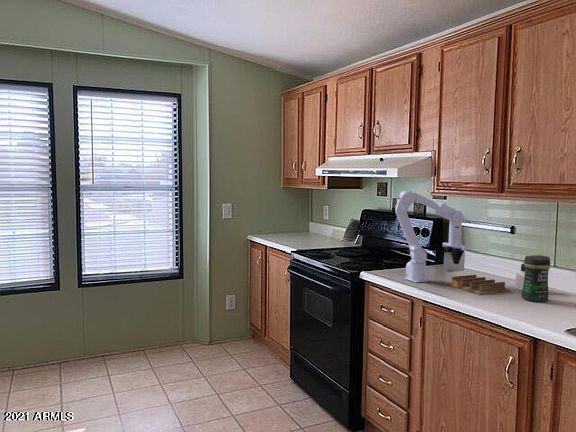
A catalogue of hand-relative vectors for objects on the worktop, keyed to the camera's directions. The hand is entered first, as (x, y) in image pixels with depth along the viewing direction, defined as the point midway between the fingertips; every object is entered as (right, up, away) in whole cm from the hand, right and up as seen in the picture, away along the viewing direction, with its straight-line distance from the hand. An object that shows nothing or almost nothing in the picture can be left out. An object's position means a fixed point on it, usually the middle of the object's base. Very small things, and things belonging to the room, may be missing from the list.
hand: (453, 263), depth 234 cm
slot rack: (+6, -10, -14) cm, 18 cm away
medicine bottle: (+27, -11, -16) cm, 34 cm away
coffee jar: (+22, -12, -34) cm, 42 cm away
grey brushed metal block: (0, -4, 0) cm, 4 cm away
